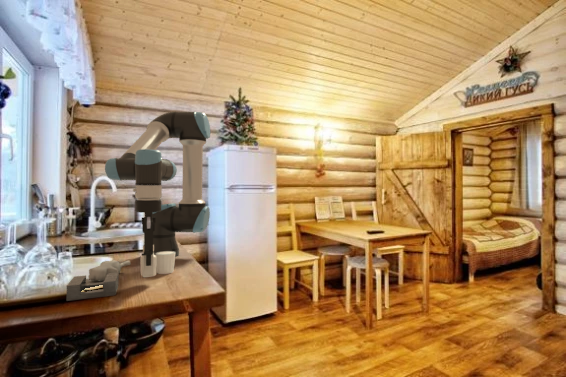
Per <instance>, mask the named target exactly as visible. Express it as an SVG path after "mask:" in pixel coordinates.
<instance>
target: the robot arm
mask: <svg viewBox="0 0 566 377" xmlns="http://www.w3.org/2000/svg"><path fill="white" fill-rule="evenodd" d="M146 126H147V127H146V130H145V131H144V132H143V133H142V134H141V135H140V136H139V137H138V138H137V139H136V141H135V142H134V143H132V145H131V146H130V147H129V148H128V149H127V150H126V151H125V152H124V153H123V154H122V155H121V156H120V157H119V158H117V157H114V158H109V159H108V160H107V161H106V162H105V163H104V164H105V165H104V170H105V171H104V173H105V175H106V177H107V178H108V179H110V180H113V181H119V182H120V181H121V182H122V181H135V182H134V183H135V187H134V188H133V189H132V191H133V192H134V193H135V195H134V198H136V200H135V202H134V203H135V204H134V208H135V210H134V211H135V212H136V213H144V217H141V224H142V227H141V228H142V229H141V230H142V233H143V239H144V240H143V246H144V253H143V252H142V253H141V254H140V255H141V256H143V255H144V276H151V277H154V276H153V253H154V255H155V256H156V253H157V252H163V251H174V252H175V257H177V256H179V255H180V248H179V245H178V242H177V239H176V233H193V234H195V233H203V232H205V230H206V229H207V228H208V225H209V221H210V216H211V215H210V214H211V213H210V212H211V211H210V207H208V206H206V201H205V200H204V199H203V159H204V158H203V157H204V156H203V155H204V153H203V151H204V150H203V148H204V145H205V144H206V143H207V139H209V138H210V137H211V125H210V122H209V118H208V116H207V114H206V113H204V112H203V111H202V112H201V111H170V112H166V113H163V114H161V115H159V116H157V117H155V118H154V119H153V120H151V121H150V122H149V123H148V124H147V125H146ZM168 139H179V140H178V141H179V143H180V144H181V145H182V197H181V199H180V201H179V202H178V206H177V205H176V203H175V202H174V203H173V202H172V203H165V204H162V200H161V198H162V197H163V196H162V189H163V188H162V182H167V181H170V180H172V179H174V178H175V177H176V175H177V172H178V168H177V166H176V164H175V163H174V162H173V161H172V160H170V159H168V158H163V157H162V152H161V150H158V148H159V147H160V145H161V144H162V143H164V142H166V141H167V140H168ZM153 245H154V251H153ZM141 256H140V257H141Z"/></svg>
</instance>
